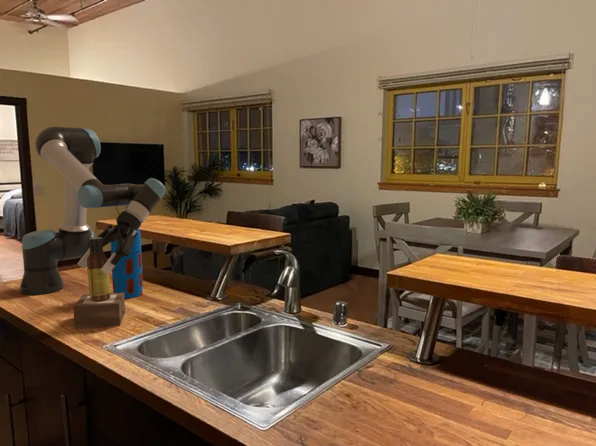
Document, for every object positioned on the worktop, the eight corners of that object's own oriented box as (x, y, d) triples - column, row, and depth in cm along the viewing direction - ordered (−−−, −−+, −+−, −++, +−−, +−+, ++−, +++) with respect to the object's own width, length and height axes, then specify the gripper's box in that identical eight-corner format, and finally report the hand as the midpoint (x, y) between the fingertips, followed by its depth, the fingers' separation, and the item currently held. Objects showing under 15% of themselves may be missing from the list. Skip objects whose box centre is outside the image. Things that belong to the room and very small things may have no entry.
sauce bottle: (115, 297, 148) (112, 236, 145) (101, 302, 142) (98, 239, 139) (98, 295, 150) (95, 235, 147) (84, 300, 144) (80, 238, 141)
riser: (83, 315, 151) (82, 294, 150) (125, 312, 154) (124, 292, 153) (74, 328, 139) (73, 306, 138) (119, 325, 142) (118, 303, 141)
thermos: (147, 291, 180) (145, 228, 177) (135, 299, 169) (132, 233, 166) (121, 290, 181) (118, 228, 178) (107, 298, 170) (104, 232, 167)
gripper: (162, 227, 148) (123, 282, 138) (118, 221, 162) (80, 270, 152) (148, 212, 143) (106, 268, 133) (104, 207, 158) (63, 257, 147)
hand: (92, 269), depth 143 cm, fingers open, 13 cm apart
